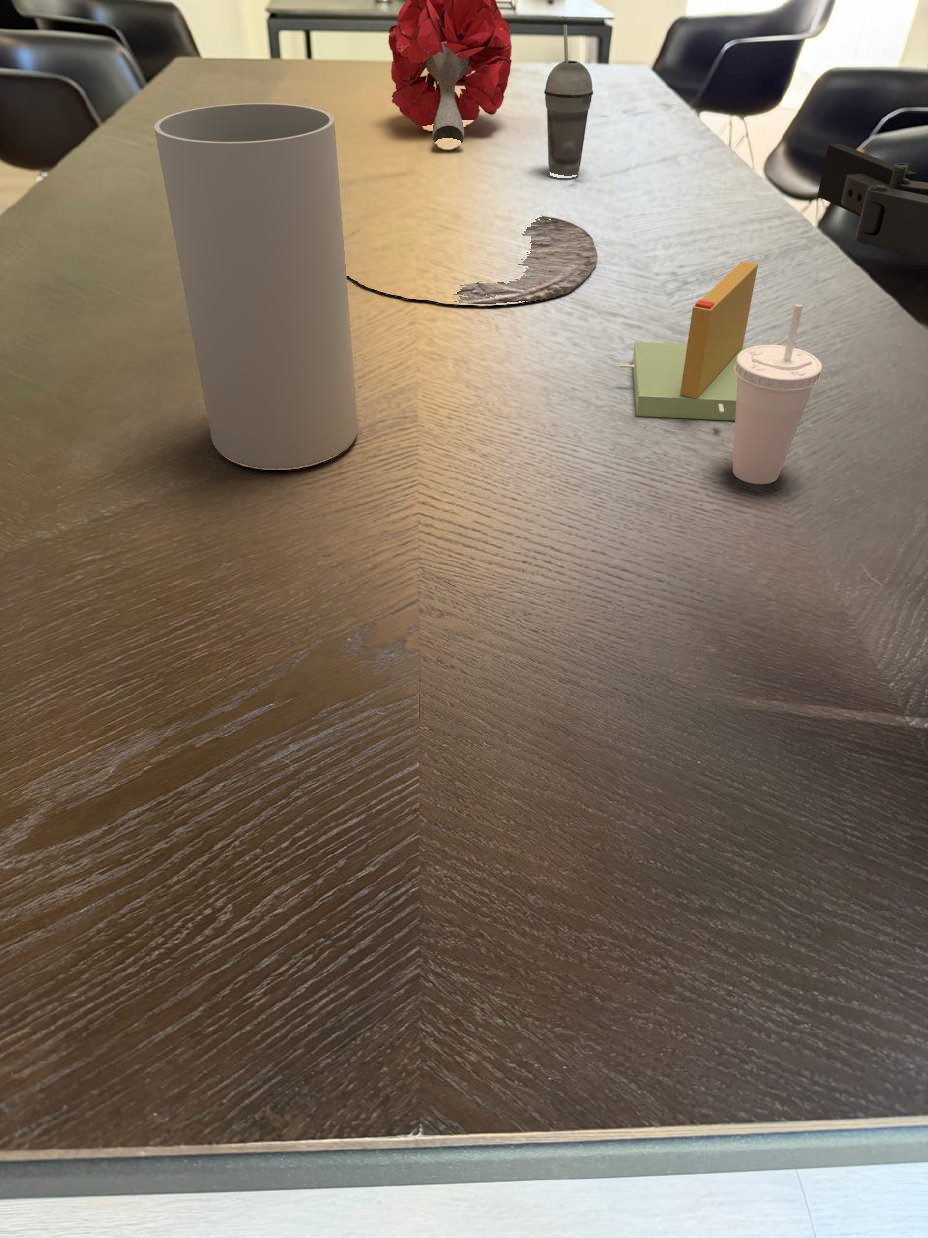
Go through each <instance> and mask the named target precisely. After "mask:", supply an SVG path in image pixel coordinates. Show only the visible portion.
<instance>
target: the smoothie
mask: <svg viewBox="0 0 928 1238" xmlns="http://www.w3.org/2000/svg"><path fill="white" fill-rule="evenodd" d="M803 307H804V305H803V304H801V303H795V304H794V307H793V313H792V317H791V322H790V327H789V331H788V336H787V340H786V344H785V345H780V344H779V345H778V344H760V345H754V346H749V347H750V348H747V349H745V350H743V351H741V352H740V353H739V354H738V355H737V359H736V364H735V366H734V371H735V374H736V375H737V376H738V379H737V397H736V416H735V421H734V437H733V440H734V441H733V454H732V455H733V457H732V474H733V475H734V476H735V477H736V478H737V479H739V480H741V481H743V482H745V483H749V484H754V485H768V484H772V483H773V482H774V483H775V482H776V481H777V480H778V479H779V477H780V474H781V471H782V468H783V467H784V464H785V461H786V458H787V455H788V453H789V450H790V447H791V445H792V442H793V440H794V437H795V435H796V432H797V429H798V427H799V424H800V422H801V419H802V416H803V413H804V411H805V408H806V406H807V404H808V400H809V398H810V395H811V393H812V391H813V390H812V389H813V387H814V386H816V385H817V384H818V383H819V382H820V381H821V372H822V370H823V364H822V362H821V361H820V360H819V359H818V358H817V357H816V356H814V355H813V354H811V353H810V352H808V351H805V350H803V349H800V348H798V347H797V348H796V347H795V344H796V343H795V342H796V339H797V335H798V334H797V333H798V329H799V325H800V320H801V316H802V311H803Z"/></svg>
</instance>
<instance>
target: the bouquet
mask: <svg viewBox="0 0 928 1238" xmlns="http://www.w3.org/2000/svg"><path fill="white" fill-rule="evenodd" d="M396 21H397V24H395V25H391V26H390V27H389V29H388V33H389V34H388V41H387V42H388V46H389V50H390V51H391V53H392V54H391V55H392V61H391V66H390V67H391V69H390V74H391V81H393V83H394V84H395V90H394V91H393V92H392V95H391V97H392V99H391V103H392V104H394V105H395V106H396V107H397V108H398V109H399V112H400V113H401V114H402V115H403V116H404V117H405V118H407V119H409V120H410V121H411V122H412V123H413V124H415V125H416V126H418V125H419V126H418V127H422V126H427V125H432V124H434V125H433V131H432V140H433V143H434V142H436V141H437V140H438V139H442V138H453V139H457V140H460V141H461V143H462V144H463V143H464V137H465V127H463V122H462V120H475V121H477V119H478V117H479V115H480V112H481V109H482V111H483V112H484V113H486V114H488V115H490V116H494V115H496V114H497V112H498V110H499V109H500V108H501V106H502V105H503V102H504V98H505V95H504V94H505V92H506V90H507V88H508V84H509V77H510V74H511V66H512V61H513V60H512V59H511V57H512V49H513V48H512V41H511V25H510V24H509V23H508V22H507V20H506V18H503V16H502V12H501V11H500V8H499V7H498V3H497V0H406V1H405V2H404V3H403V4H402V6H401V8H400V9H399V12H398V15H397V18H396ZM425 70H426V71H427V72H428V73H427V74H426V75H422V74H423V73H424V71H425ZM456 87H464V88H459V89H460V92H459V95H458V94H457V92H456ZM480 108H481V109H480Z"/></svg>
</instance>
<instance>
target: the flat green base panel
mask: <svg viewBox="0 0 928 1238" xmlns="http://www.w3.org/2000/svg"><path fill="white" fill-rule="evenodd" d="M633 344H634V345H633V351H632V352H633V353H632V364H621V363H620V364H619V368H624V369H632V371H633V373H632V374H633V383H634V384H633V386H634V400H635V402H634V403H635V413H636V414H635V416H636V417H645V418H646V417H647V418H648V417H649V418H673V419H690V420H691V419H693V420H711V421H713V420H714V421H734V422H735V416H736V397H737V379H738V376H737V375H736V374H735V371H734V366H735V364H736V359H737V355H738V354H739V353H740V352H741V351H743V350H745V349H747V348H750V347H751V346H746V345H745V346H744V345H743V347H742V348H741V349H740V350H739V352H738V353H737V354H736V355H735V356H734V357H733V358H732V359H731V361H730V362H729V363H728V364H727V365H726V366H725V367H724V368H723V370H722V371H721V372H720V373H719V374H718V375H717V376H716V377H715V379H714V380H713V381H712V382H711V383H710V384H709V385H708V386H707V388H706V389H705V390H704V391H703V392H702V393H701V394H700V395H699V397H698V398H697V399H696V398H691V397H687V396H683V395H680V390H681V384H682V377H683V370H684V363H685V357H686V350H687V343H671V342H669V343H667V342H647V341H645V342H644V341H635V342H634V343H633Z"/></svg>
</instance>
